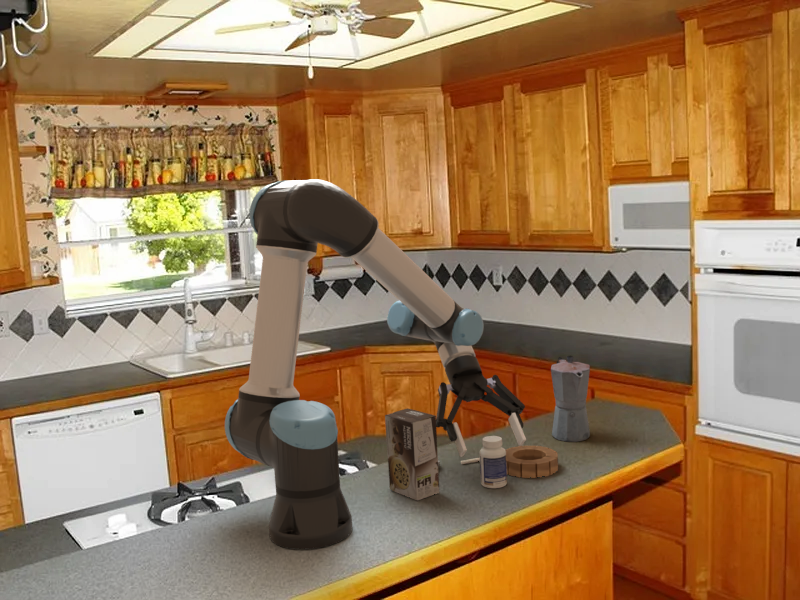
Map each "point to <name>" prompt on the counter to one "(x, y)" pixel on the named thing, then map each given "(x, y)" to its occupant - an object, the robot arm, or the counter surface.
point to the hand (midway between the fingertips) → (493, 448)
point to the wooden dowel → (470, 461)
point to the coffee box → (412, 453)
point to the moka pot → (570, 400)
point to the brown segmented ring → (531, 461)
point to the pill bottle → (493, 463)
